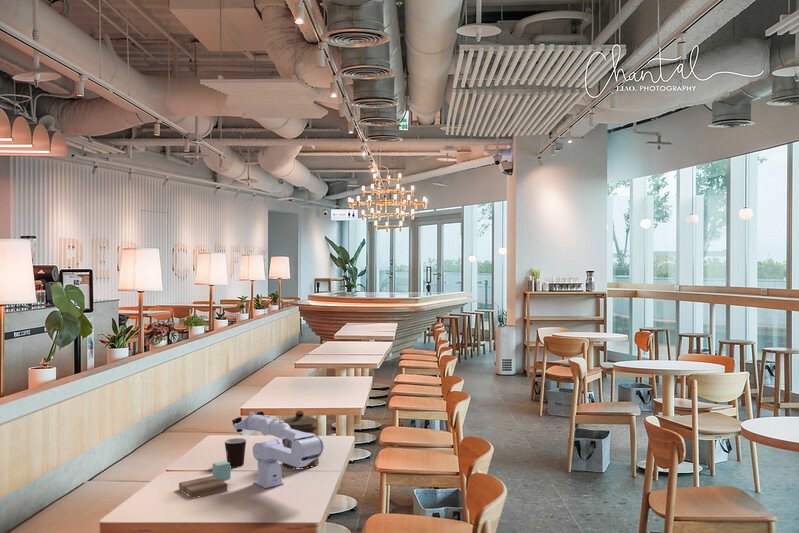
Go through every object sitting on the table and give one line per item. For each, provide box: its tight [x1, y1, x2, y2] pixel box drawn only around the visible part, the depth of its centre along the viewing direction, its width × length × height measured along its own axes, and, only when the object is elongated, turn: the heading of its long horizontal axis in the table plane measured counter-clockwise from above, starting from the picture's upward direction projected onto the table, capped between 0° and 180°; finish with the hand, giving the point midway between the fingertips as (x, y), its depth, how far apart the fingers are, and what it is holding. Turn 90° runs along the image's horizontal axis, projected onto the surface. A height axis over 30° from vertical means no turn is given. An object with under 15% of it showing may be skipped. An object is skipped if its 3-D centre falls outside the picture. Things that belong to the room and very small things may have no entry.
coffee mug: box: [224, 437, 247, 468], centre depth 281 cm, size 12×9×10 cm
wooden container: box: [281, 410, 320, 470], centre depth 279 cm, size 15×15×22 cm
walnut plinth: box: [178, 475, 228, 499], centre depth 247 cm, size 13×13×2 cm
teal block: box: [212, 460, 231, 481], centre depth 261 cm, size 5×5×6 cm
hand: (242, 420), depth 269 cm, fingers open, 7 cm apart
